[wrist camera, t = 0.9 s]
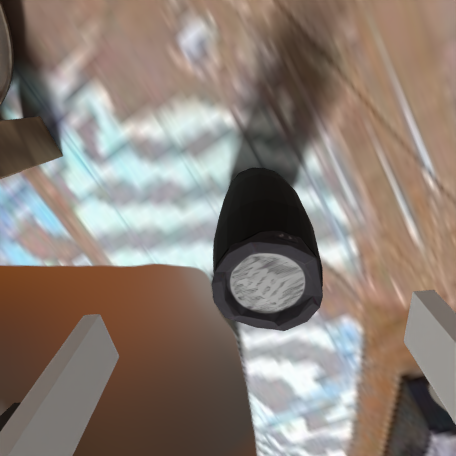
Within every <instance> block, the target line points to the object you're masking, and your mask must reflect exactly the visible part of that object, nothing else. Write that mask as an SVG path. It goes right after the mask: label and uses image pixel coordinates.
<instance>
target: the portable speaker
mask: <svg viewBox="0 0 456 456" xmlns="http://www.w3.org/2000/svg"><path fill="white" fill-rule="evenodd" d="M213 271H214V277H213V281H212V289H213V299H214V303H215V304H216V305H217V307H218V308H219V310H220V311H221V312H222V314H223V315H224V317H225V318H228V319H231V320H235V321H238V322H241V323H244V324H247V325H250V326H253V327H257V328H266V329H275V330H281V331H286V330H288V329H290V328H293V327H295V326H298V325H300V324H302V323H305V322H307V321H308V320H309V319H310V318H311V317H312V316H313V314H314V313H315V312H316V311H317V310H318V309H319V308H320V305H321V301H322V297H323V293H322V286H323V275H322V264H321V260H320V256H319V251H318V247H317V243H316V238H315V234H314V230H313V227H312V224H311V222H310V220H309V217H308V215H307V213H306V211H305V209H304V207H303V205H302V203H301V201H300V199H299V197H298V195H297V193H296V191H295V190H294V189H293V188H292V187H291V186H290V185H289V184H288V183H287V182H286V181H285V180H284V179H283V178H282V177H281V176H280V175H279V174H277V173H276V172H274V171H271V170H268V169H264V168H251V169H248V170H246V171H243V172H240V173H239V174H238V175H237V177H236V178H235V179H234V181H233V182H232V183H231V185H230V187H229V189H228V191H227V194H226V196H225V199H224V202H223V205H222V209H221V212H220V216H219V220H218V224H217V229H216V233H215V238H214V248H213Z"/></svg>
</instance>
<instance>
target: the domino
mask: <svg viewBox="0 0 456 456" xmlns="http://www.w3.org/2000/svg"><path fill="white" fill-rule="evenodd" d="M62 156H63V155H62V153H61V152H60V150H59V148H58V147H57V145H56V143H55V141H54V140H53V138H52V136H51V134H50V133H49V131H48V129H47V127H46V126H45V124H44V122H43V120H42V119H41V117H40V116H39V117H30V118H21V119H13V120H4V121H0V178H2V177H5V176H8V175H11V174H14V173H17V172H20V171H23V170H25V169H28V168H31V167H34V166H37V165H40V164H43V163H46V162H48V161H51V160H54V159H57V158H59V157H62Z"/></svg>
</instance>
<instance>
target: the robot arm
mask: <svg viewBox="0 0 456 456" xmlns="http://www.w3.org/2000/svg"><path fill="white" fill-rule="evenodd" d="M404 343H405V344H406V346H407V348H408V349H409V351H410V352H411V354H412V355H413V357H414V359H415V360H416V362H417V363H418V365H419V367H420V368H421V370H422V371H423V373H424V375H425V376H426V378H427V379H428V381H429V383H430V384H431V386H432V387H433V389H434V390H435V392H436V394H437V395H438V397H439V399H440V400H441V402H442V403H443V405H444V407H445V408H446V410H447V411H448V413H449V414H450V416H451V418H452V419H453V421H454V422H455V424H456V313H455V312H454V311H453V310H452V309H451V307H450V306H449V305H448V304H447V303H446V302H445V301H444V300H443V299H442V298H441V297H440V296H439V295H438V294H437V293H436V291H435V290H426V291H413V294H412V300H411V305H410V310H409V316H408V321H407V326H406V332H405V337H404ZM118 358H119V355H118V353H117V351H116V348H115V347H114V344H113V342H112V340H111V338H110V335H109V333H108V331H107V329H106V327H105V325H104V322H103V320H102V318H101V316H100V314H96V315H84V316H83V317H82V319H81V320H80V321H79V323H78V324H77V326H76V327H75V328H74V330H73V331H72V333H71V334H70V335H69V337H68V338H67V340H66V341H65V342H64V344H63V345H62V347H61V348H60V349H59V351H58V352H57V353H56V355H55V356H54V358H53V359H52V360H51V362H50V364H49V365H48V366H47V367H46V369H45V370H44V372H43V373H42V374H41V376H40V377H39V379H38V380H37V381H36V383H35V384H34V386H33V387H32V388H31V390H30V391H29V393H28V394H27V395H26V397H25V398H24V400H23V401H22V402H21V403H14V404H13V405H12V406H11V407H10V408H8V409H7V410H6V411H5V412H4V413H3V414H2V415H1V416H0V456H72V455H73V453H74V451H75V449H76V447H77V445H78V443H79V440H80V438H81V436H82V434H83V432H84V430H85V428H86V426H87V423H88V421H89V419H90V417H91V415H92V413H93V411H94V409H95V407H96V405H97V402H98V400H99V398H100V396H101V394H102V392H103V390H104V388H105V385H106V384H107V381H108V379H109V377H110V375H111V373H112V371H113V369H114V366H115V364H116V362H117V360H118Z"/></svg>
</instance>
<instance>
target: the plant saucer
mask: <svg viewBox="0 0 456 456" xmlns="http://www.w3.org/2000/svg"><path fill="white" fill-rule="evenodd" d="M13 66H14V51H13V42H12V36H11V31H10V27H9V23H8V20H7V16H6V13H5V10H4V8H3V5H2V3H1V0H0V105H1V103H2V102H3V100H4V99H5V97H6V94H7V92H8V90H9V87H10V84H11V79H12V74H13Z"/></svg>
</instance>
